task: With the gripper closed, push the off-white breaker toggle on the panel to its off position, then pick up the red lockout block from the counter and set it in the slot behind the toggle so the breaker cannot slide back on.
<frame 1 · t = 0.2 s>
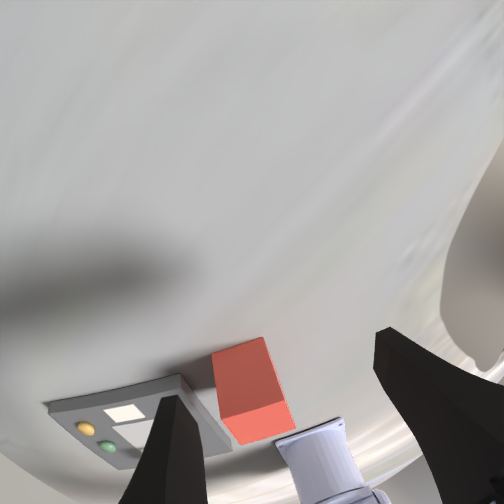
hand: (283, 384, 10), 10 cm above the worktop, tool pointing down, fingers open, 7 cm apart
lockout block: (244, 362, 23), on the worktop
breaker panel: (142, 427, 25), on the worktop
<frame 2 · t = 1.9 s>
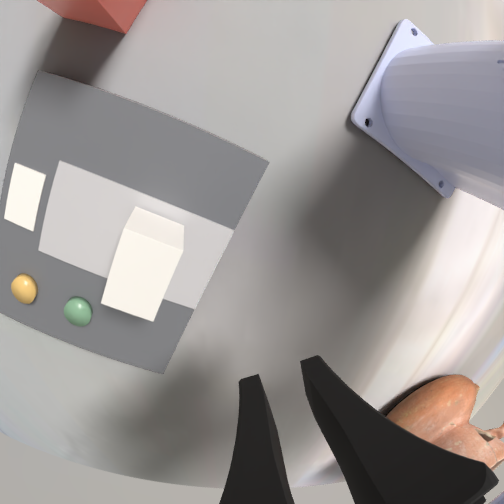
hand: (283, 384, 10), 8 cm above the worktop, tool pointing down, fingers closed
breaker panel: (102, 234, 15), on the worktop
ceramic jug: (409, 407, 31), on the worktop
breaker toggle: (142, 262, 13), point 3 cm above the worktop, slide at 0.0 cm
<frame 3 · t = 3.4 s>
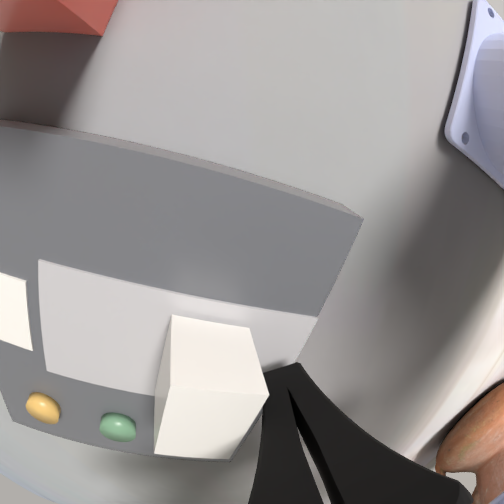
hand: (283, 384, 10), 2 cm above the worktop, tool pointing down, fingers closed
breaker panel: (127, 336, 11), on the worktop
ceramic jug: (471, 413, 25), on the worktop
breaker toggle: (200, 393, 8), point 3 cm above the worktop, slide at 0.0 cm, touching gripper
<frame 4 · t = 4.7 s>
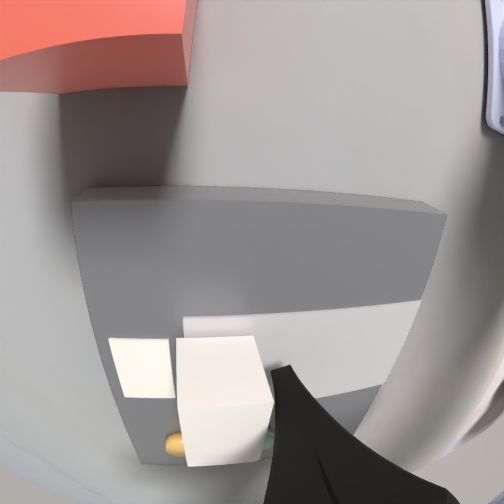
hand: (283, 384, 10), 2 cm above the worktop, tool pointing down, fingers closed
lockout block: (126, 25, 6), on the worktop
breaker panel: (258, 356, 12), on the worktop
breaker toggle: (219, 405, 9), point 3 cm above the worktop, slide at 4.5 cm, touching gripper
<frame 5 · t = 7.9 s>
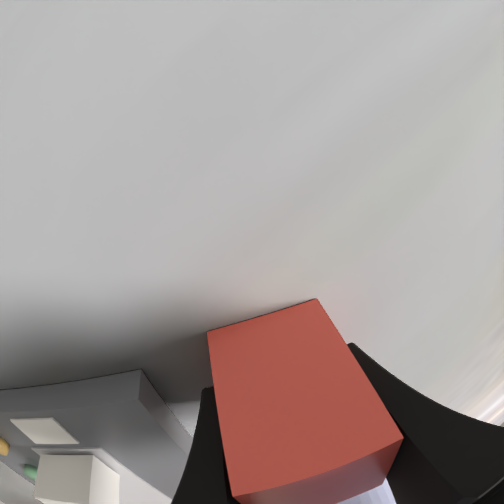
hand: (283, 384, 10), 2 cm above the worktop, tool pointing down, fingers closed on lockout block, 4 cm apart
lockout block: (272, 354, 11), on the worktop, touching gripper
breaker panel: (85, 452, 13), on the worktop
breaker toggle: (76, 487, 9), point 3 cm above the worktop, slide at 4.0 cm
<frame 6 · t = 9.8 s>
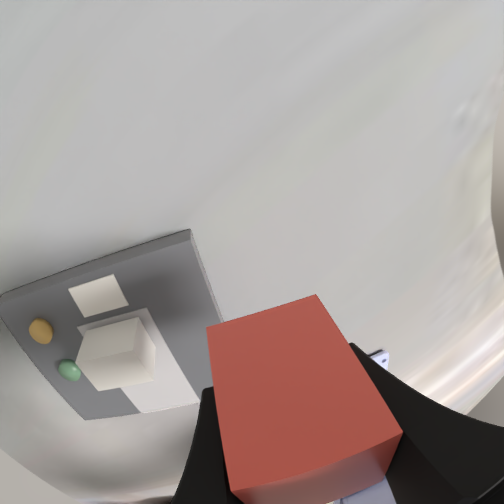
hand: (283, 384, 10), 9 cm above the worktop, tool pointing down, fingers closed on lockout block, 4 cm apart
lockout block: (271, 350, 11), point 7 cm above the worktop, touching gripper
breaker panel: (121, 341, 19), on the worktop
breaker toggle: (117, 355, 15), point 3 cm above the worktop, slide at 4.0 cm
when the fingers open (4 cm above the worktop, at t = 11.8 s): lockout block stays where it is, resting on breaker panel.
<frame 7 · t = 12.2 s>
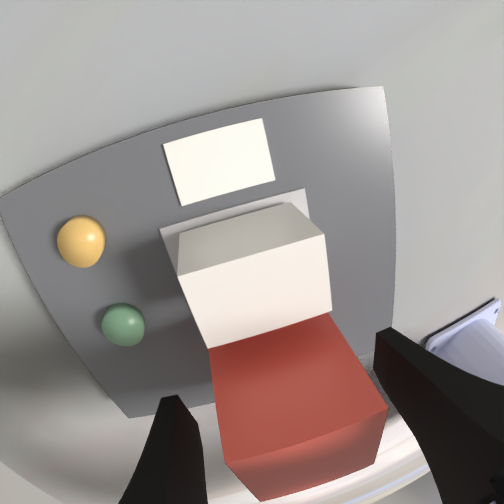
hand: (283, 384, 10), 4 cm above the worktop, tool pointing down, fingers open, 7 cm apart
lockout block: (267, 337, 12), point 2 cm above the worktop, touching breaker panel
breaker panel: (221, 272, 12), on the worktop
breaker toggle: (252, 270, 9), point 3 cm above the worktop, slide at 4.0 cm
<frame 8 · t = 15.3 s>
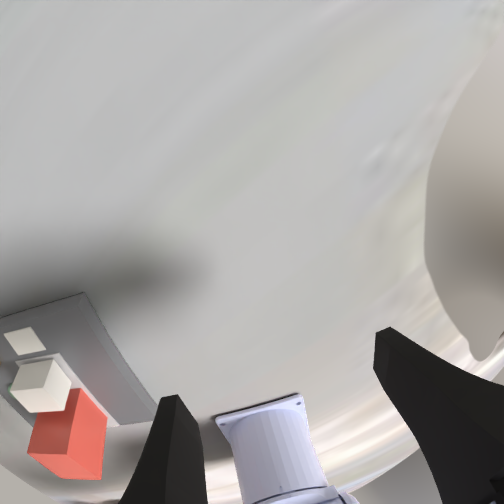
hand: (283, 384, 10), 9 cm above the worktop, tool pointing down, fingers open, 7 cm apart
lockout block: (75, 405, 19), point 2 cm above the worktop, touching breaker panel
breaker panel: (53, 372, 19), on the worktop
breaker toggle: (40, 387, 16), point 3 cm above the worktop, slide at 4.0 cm
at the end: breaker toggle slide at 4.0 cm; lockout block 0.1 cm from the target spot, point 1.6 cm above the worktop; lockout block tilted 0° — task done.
